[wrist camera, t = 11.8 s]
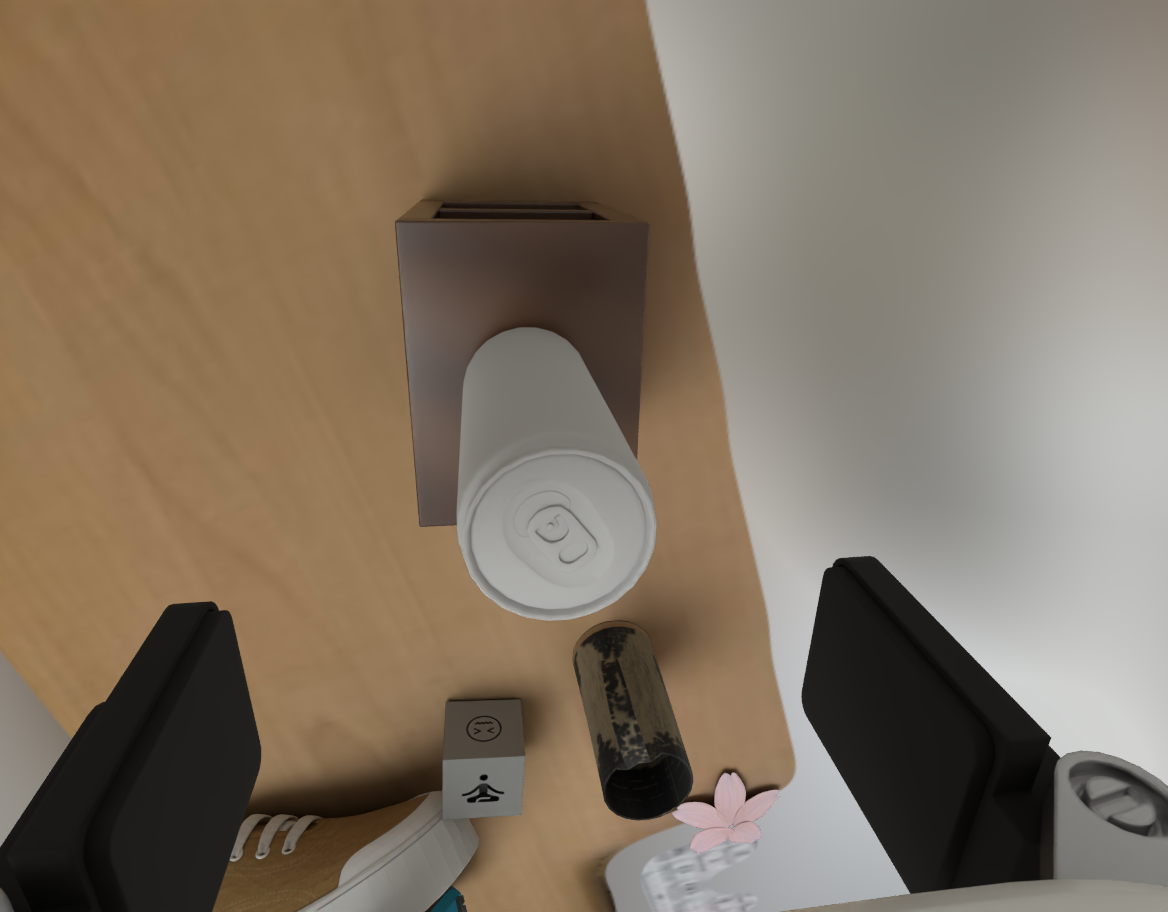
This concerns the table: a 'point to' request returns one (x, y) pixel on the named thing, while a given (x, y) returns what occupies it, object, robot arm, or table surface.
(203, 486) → the table surface
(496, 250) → the divided wooden organizer
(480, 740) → the dice cube
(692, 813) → the flower
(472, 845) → the sneaker
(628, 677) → the mug
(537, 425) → the beverage can
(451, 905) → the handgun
